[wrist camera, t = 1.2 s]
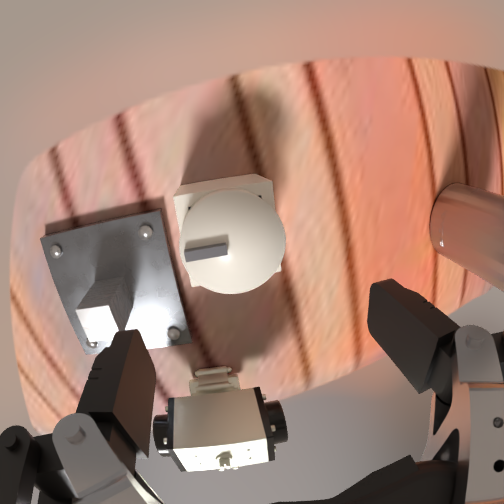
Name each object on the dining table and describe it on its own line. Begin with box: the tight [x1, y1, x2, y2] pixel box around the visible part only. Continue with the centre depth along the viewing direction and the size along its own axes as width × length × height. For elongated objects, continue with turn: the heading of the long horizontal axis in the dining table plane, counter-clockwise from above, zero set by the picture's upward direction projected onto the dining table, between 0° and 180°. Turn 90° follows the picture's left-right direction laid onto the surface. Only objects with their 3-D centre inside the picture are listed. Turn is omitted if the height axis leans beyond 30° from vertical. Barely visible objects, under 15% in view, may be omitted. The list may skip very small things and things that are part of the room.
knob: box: [173, 174, 286, 294], centre depth 20 cm, size 6×6×8 cm
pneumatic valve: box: [153, 366, 288, 471], centre depth 24 cm, size 6×12×12 cm, turn 95°
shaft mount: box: [40, 209, 192, 354], centre depth 22 cm, size 12×13×6 cm
